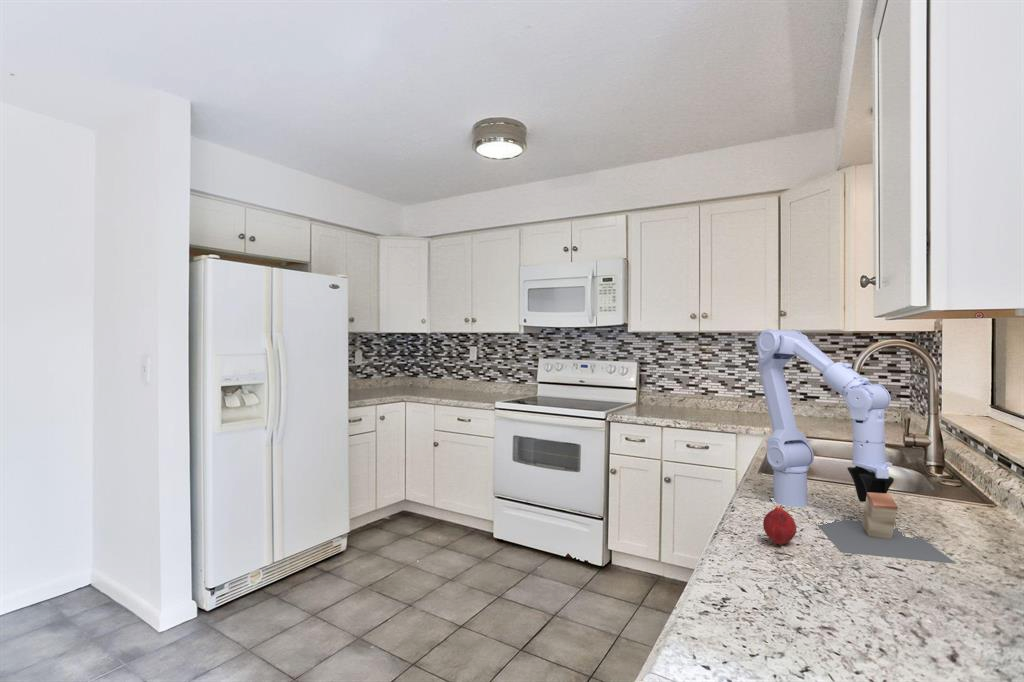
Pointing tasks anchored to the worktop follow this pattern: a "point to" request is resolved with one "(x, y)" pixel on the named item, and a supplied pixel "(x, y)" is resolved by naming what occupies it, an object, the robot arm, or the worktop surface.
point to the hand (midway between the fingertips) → (870, 505)
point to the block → (879, 515)
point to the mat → (880, 543)
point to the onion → (779, 525)
